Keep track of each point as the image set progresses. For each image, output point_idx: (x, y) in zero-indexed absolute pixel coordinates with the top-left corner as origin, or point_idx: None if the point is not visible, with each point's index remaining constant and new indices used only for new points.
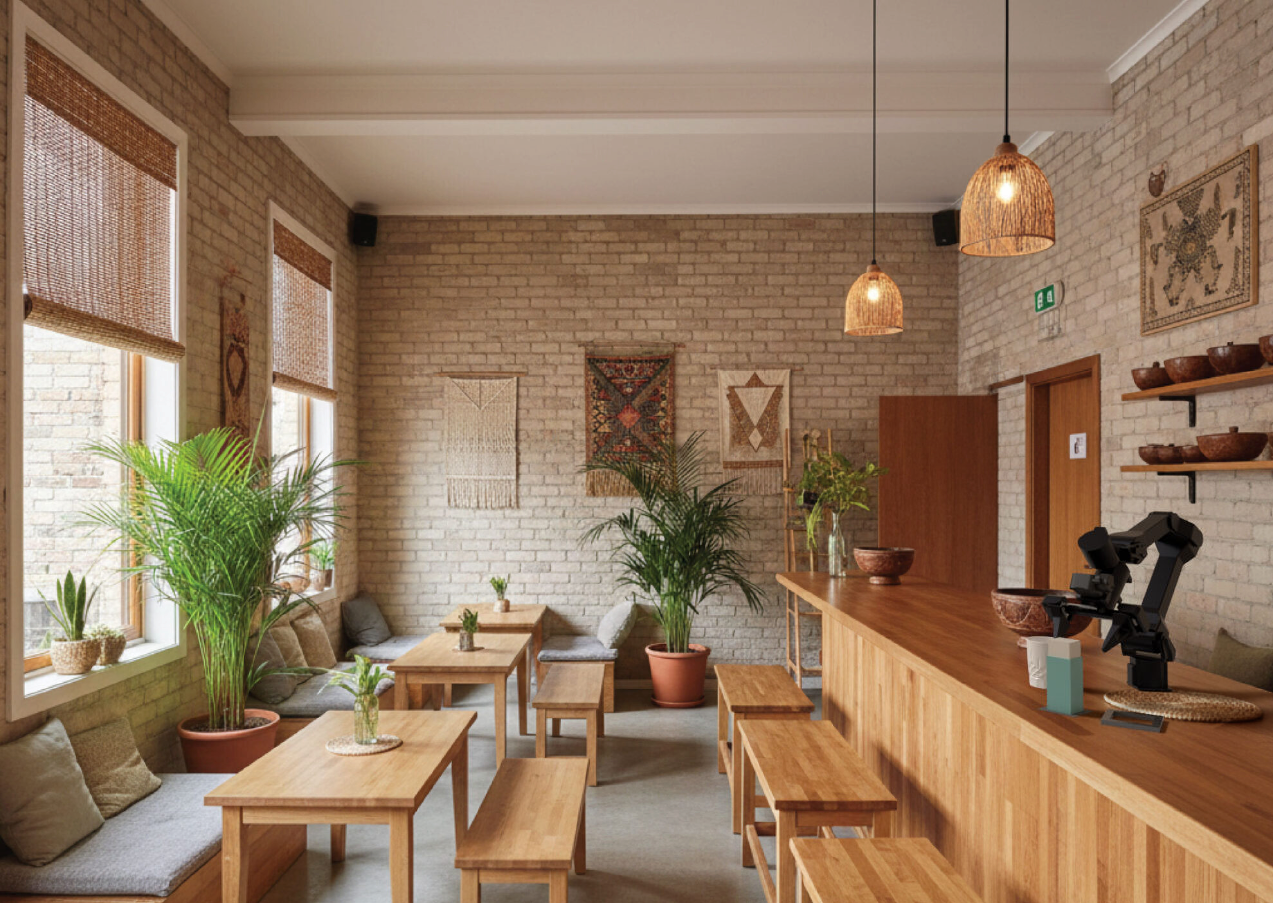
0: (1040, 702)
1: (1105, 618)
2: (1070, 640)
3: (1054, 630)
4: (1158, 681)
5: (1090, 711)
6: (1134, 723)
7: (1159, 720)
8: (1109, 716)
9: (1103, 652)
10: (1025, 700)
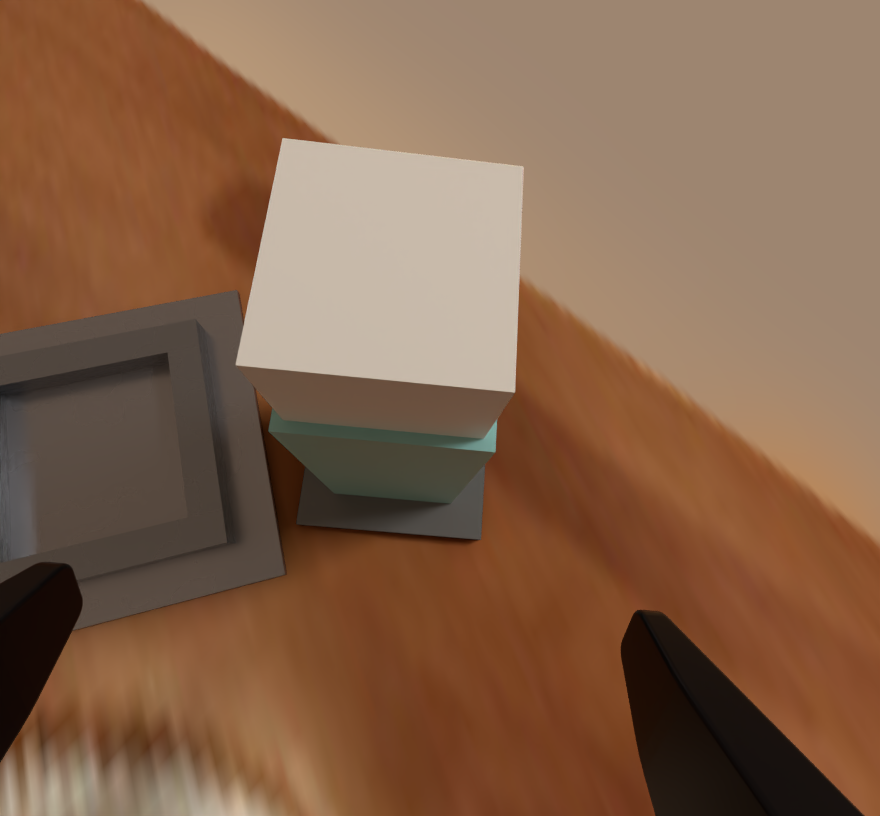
0: (562, 549)
1: None
2: (329, 283)
3: (787, 752)
4: None
5: (304, 505)
6: (58, 359)
7: None
8: (178, 396)
9: (79, 602)
10: (625, 531)
